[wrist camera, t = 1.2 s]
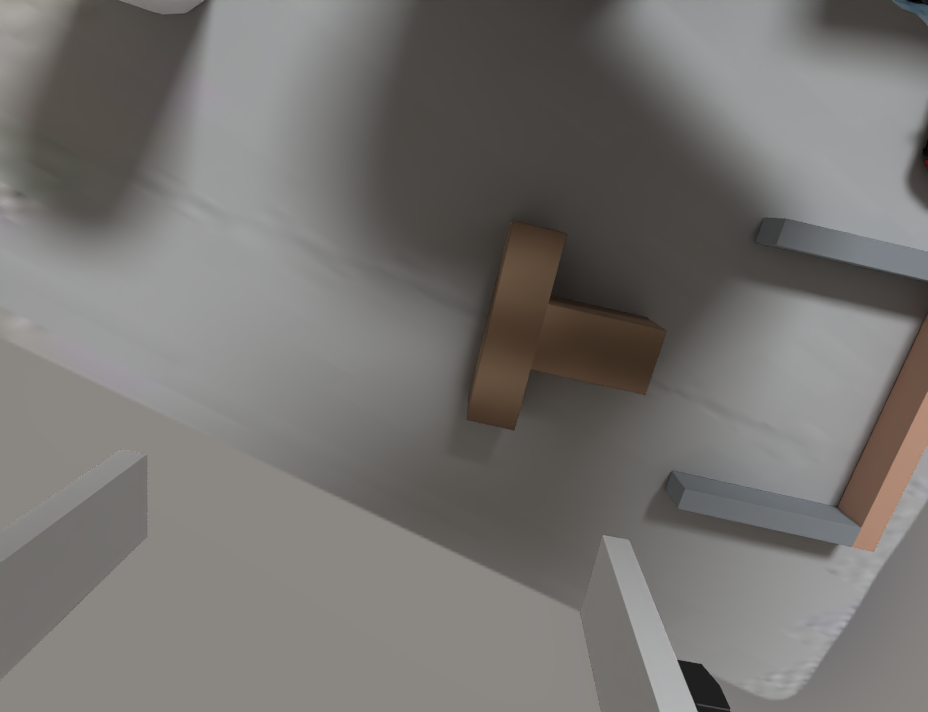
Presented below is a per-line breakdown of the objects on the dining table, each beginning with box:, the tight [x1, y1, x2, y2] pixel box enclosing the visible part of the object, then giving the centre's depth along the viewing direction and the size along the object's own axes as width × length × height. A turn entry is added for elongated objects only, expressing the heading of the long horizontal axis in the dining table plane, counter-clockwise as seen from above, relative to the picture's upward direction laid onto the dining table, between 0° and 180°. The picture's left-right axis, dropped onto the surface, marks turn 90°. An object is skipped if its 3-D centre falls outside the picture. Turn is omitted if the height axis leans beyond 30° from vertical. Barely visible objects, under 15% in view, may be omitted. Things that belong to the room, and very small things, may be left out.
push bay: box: [665, 218, 928, 552], centre depth 34 cm, size 19×14×2 cm
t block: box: [467, 221, 666, 430], centre depth 33 cm, size 12×10×4 cm
